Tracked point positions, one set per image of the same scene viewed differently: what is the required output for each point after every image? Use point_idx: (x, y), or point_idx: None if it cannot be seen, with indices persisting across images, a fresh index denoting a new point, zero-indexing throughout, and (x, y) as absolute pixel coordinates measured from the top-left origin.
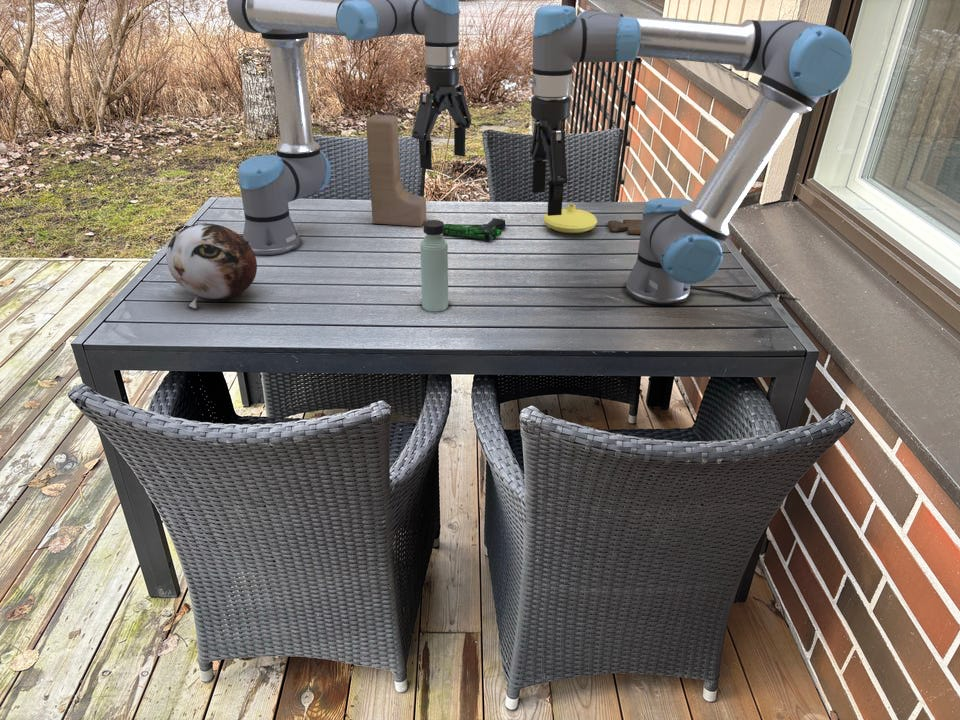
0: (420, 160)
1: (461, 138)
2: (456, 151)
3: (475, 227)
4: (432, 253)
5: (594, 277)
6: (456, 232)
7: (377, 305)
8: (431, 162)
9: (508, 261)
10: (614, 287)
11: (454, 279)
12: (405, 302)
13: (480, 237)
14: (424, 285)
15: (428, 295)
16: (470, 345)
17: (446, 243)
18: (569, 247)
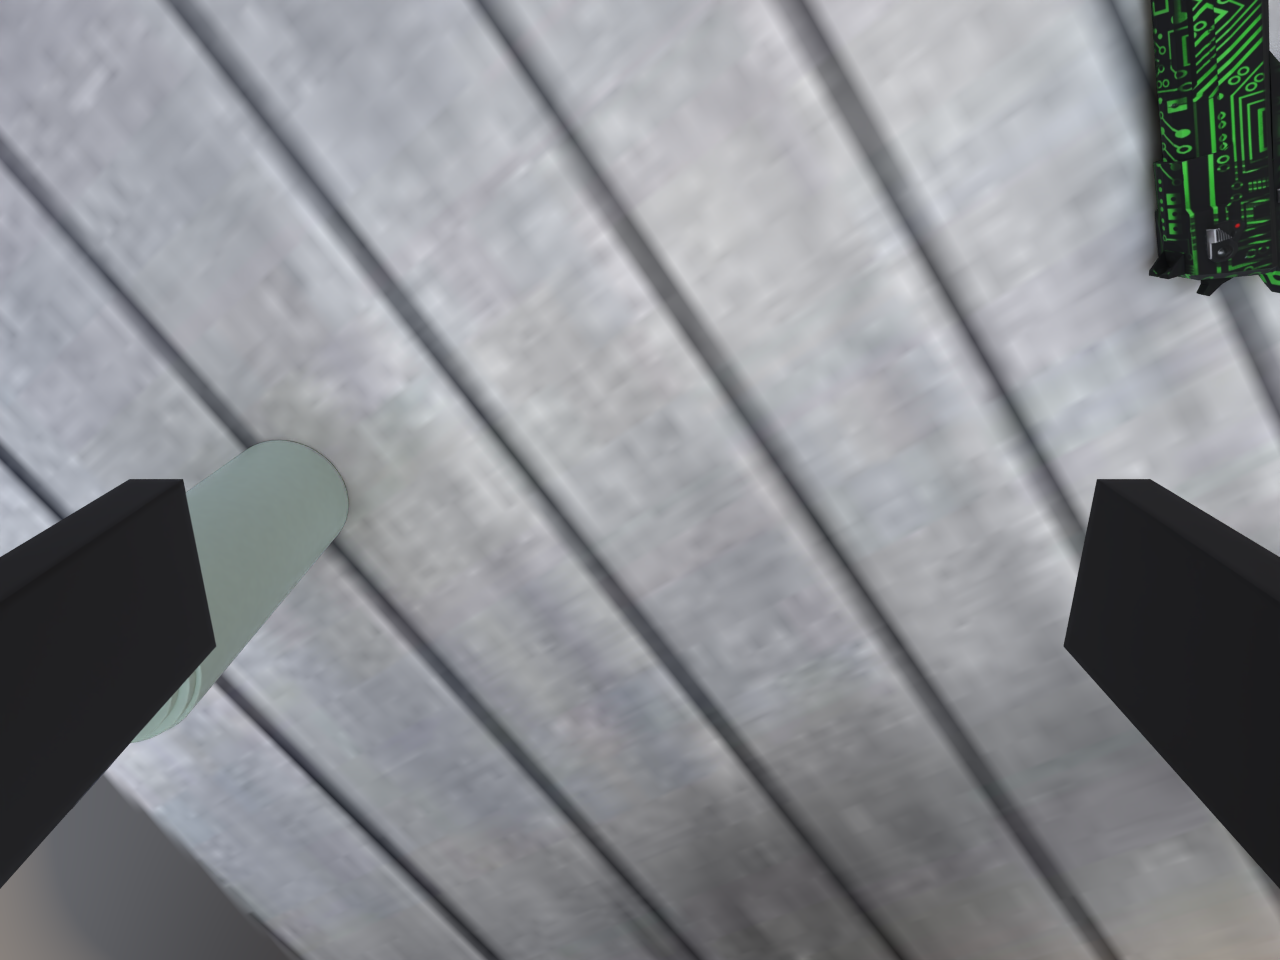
0: (51, 532)
1: (1270, 825)
2: (1123, 552)
3: (1260, 128)
4: None
5: (949, 865)
6: (1164, 26)
7: (88, 269)
8: (160, 703)
9: (934, 503)
10: (894, 948)
11: (579, 404)
12: (213, 364)
13: (1161, 212)
14: None
15: None
16: (142, 777)
17: (153, 736)
18: None
